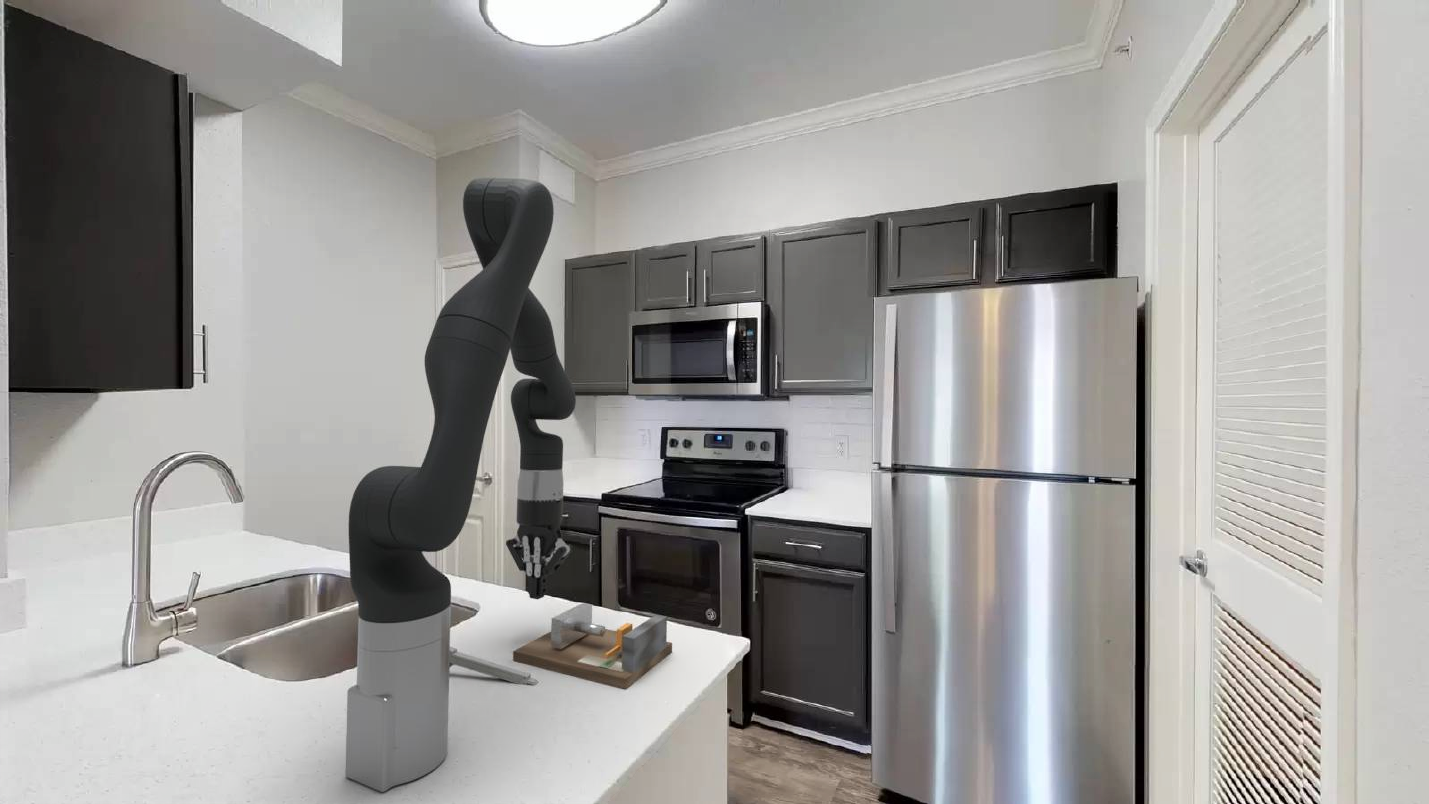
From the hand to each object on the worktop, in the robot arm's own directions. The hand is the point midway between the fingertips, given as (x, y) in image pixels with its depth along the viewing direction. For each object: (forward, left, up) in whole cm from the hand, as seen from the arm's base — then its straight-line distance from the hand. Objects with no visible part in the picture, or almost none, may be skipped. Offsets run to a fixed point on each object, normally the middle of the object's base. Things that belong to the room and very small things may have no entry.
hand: (537, 597), depth 97 cm
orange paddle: (-1, -17, -5) cm, 18 cm away
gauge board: (0, -12, -8) cm, 14 cm away
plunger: (0, -10, -6) cm, 11 cm away
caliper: (-13, 0, -8) cm, 16 cm away
